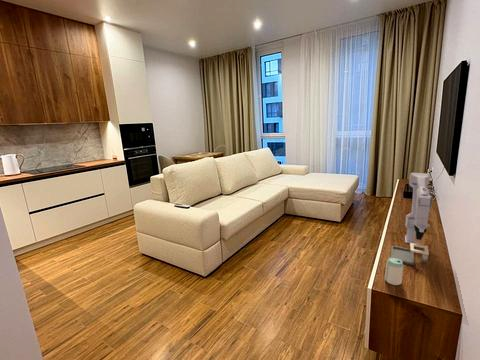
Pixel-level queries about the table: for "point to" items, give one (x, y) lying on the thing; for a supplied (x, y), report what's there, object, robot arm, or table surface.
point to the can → (394, 271)
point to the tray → (403, 254)
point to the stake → (424, 258)
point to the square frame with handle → (418, 244)
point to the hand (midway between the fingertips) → (418, 238)
